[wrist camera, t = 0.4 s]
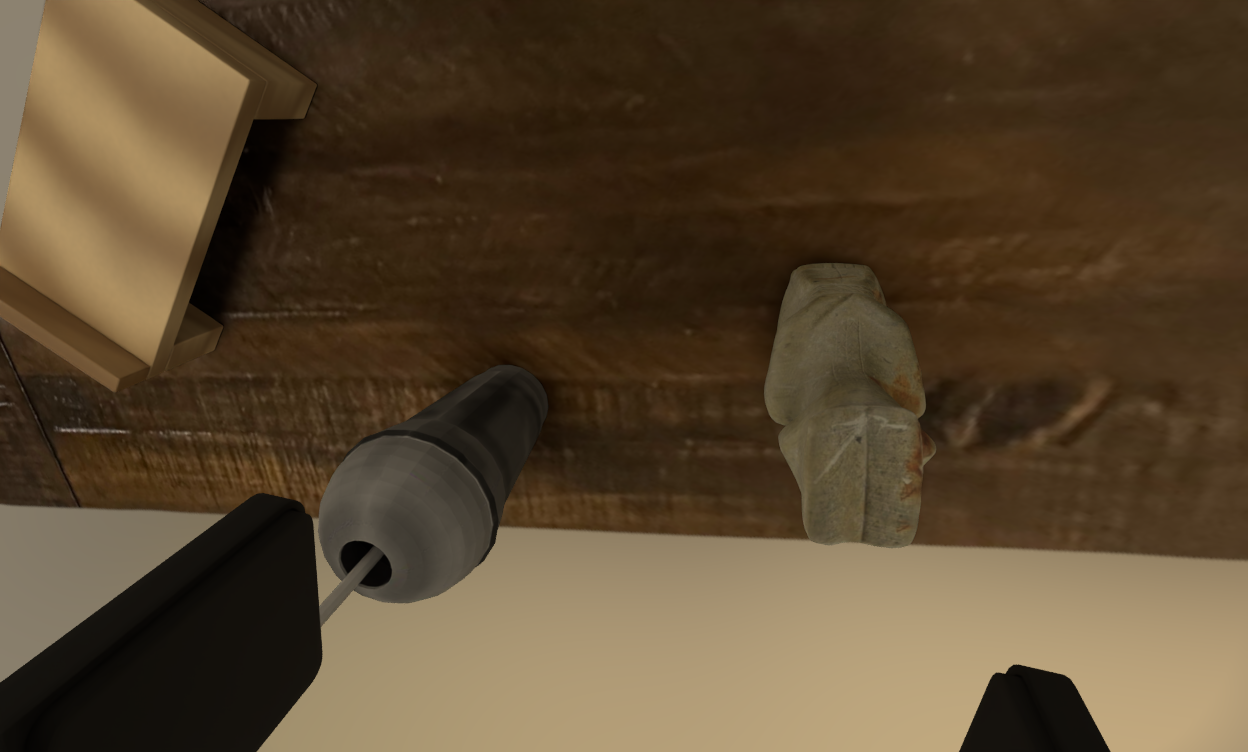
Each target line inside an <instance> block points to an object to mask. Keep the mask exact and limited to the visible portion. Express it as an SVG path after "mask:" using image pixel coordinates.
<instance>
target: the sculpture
mask: <svg viewBox="0 0 1248 752" xmlns="http://www.w3.org/2000/svg"><path fill="white" fill-rule="evenodd" d="M764 397H765V404H766V406H767V409H768V412H769V415H770V416H771V418H772V419H773V420H774V421H775V422H777V423H779V424H782V425H786V427H784V428H783V430H782V431H781V432H780V434H779V436H778V438H779V445H780V449H781V451H782V453H783V455H784V457H785V459H786V461H787V462H788V464H789V466H790V468H791V470H792V472H793V474H794V476H795V478H796V480H797V483H798V485H799V488H800V490H801V493H802V516H803V523H804V527H805V530H806V533H807V535H808V537H809V539H810V540H811V541H813V542H816V543H820V544H824V545H834V544H839V543H843V542H860V543H864V544H868V545H873V546H879V547H887V548H900V547H904V546H908V545H909V544H910V543H911V542H912V540H913V538H914V536H915V533H916V530H917V526H918V520H919V511H920V506H921V486H922V478H923V465H924V464H925V463H926V462H927V461H928V460H929V459H930V458H931V457H932V456H933V455H934V454H935V452H936V445H935V443H934V441H933V440H932V439H931V438H930V437H929V436H928V435H927V434H926V433H925V432H924V431H923V430H922V429H921V428H920V424H919V421H918V418H919V417H920V416H921V415H922V414H923V413H924V411H925V408H926V403H925V394H924V388H923V382H922V371H921V368H920V365H919V362H918V360H917V357H916V353H915V349H914V345H913V342H912V338H911V334H910V331H909V328H908V325H907V324H906V322H905V321H904V320H903V319H902V318H901V317H900V316H899V315H898V314H896V313H895V312H894V311H893V310H891V309H890V308H888V307H887V305H886V302H885V299H884V295H883V292H882V289H881V287H880V285H879V282H878V280H877V278H876V276H875V275H874V273H873V271H872V270H871V269H870V268H869V267H868V266H865V265H857V264H844V263H819V264H808V265H803V266H800V267H798V268H797V269H796V270H794V271H793V272H792V274H791V277H790V282H789V285H788V287H787V290H786V292H785V295H784V298H783V301H782V305H781V310H780V315H779V320H778V327H777V333H776V336H775V340H774V344H773V348H772V354H771V359H770V364H769V369H768V373H767V377H766V381H765V386H764Z"/></svg>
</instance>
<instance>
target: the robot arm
mask: <svg viewBox="0 0 1248 752" xmlns="http://www.w3.org/2000/svg"><path fill="white" fill-rule="evenodd" d="M321 662H322V640H321V626H320V612H319V599H318V584H317V570H316V556H315V542H314V530H313V520H312V518H311V516H310V515H308V514H306V513H305V509H304V506H303V505H302V504H301V503H300V502H298V501H296V500H291V499H287V498H282V497H278V496H274V495H269V494H265V493H260V494H256V495H254V496H252V497H250V498H249V499H248V500H246V501H245V502H244V503H242V504H241V505H240V506H238V507H237V508H236V509H234V510H233V511H232V512H230V513H229V514H227V515H226V516H225V517H223V518H222V519H221V520H219V521H218V522H217V523H215V524H214V525H213V526H211V527H210V528H209V529H207V530H206V531H205V532H203V533H202V534H201V535H199V536H198V537H196V538H195V539H194V540H192V541H191V542H190V543H188V544H187V545H186V546H184V547H183V548H182V549H180V550H179V551H178V552H176V553H175V554H173V555H172V556H171V557H169V558H168V559H167V560H165V561H164V562H163V563H161V564H160V565H159V566H157V567H156V568H155V569H153V570H152V571H150V572H149V573H148V574H146V575H145V576H144V577H142V578H141V579H140V580H138V581H137V582H136V583H134V584H133V585H132V586H130V587H129V588H128V589H126V590H125V591H124V592H122V593H121V594H119V595H118V596H117V597H115V598H114V599H113V600H111V601H110V602H109V603H107V604H106V605H105V606H103V607H102V608H101V609H99V610H98V611H96V612H95V613H94V614H92V615H91V616H90V617H88V618H87V619H86V620H84V621H83V622H82V623H80V624H79V625H78V626H76V627H75V628H73V629H72V630H71V631H69V632H68V633H67V634H65V635H64V636H63V637H61V638H60V639H59V640H57V641H56V642H55V643H53V644H52V645H51V646H49V647H48V648H46V649H45V650H44V651H43V652H41V653H40V654H38V655H37V656H36V657H34V658H33V659H32V660H30V661H29V662H28V663H26V664H25V665H23V666H22V667H21V668H19V669H18V670H17V671H15V672H14V673H13V674H11V675H10V676H9V677H8V678H6V679H5V680H3V681H2V682H0V752H257V750H258V749H259V748H260V747H261V745H262V744H263V743H264V742H265V740H266V739H267V738H268V737H269V736H270V734H271V733H272V732H273V731H274V729H275V728H276V727H277V726H278V724H279V723H280V722H281V721H282V719H283V718H284V717H285V715H286V714H287V713H288V712H289V711H290V709H291V708H292V707H293V706H294V704H295V703H296V702H297V701H298V699H299V698H300V697H301V696H302V694H303V693H304V692H305V691H306V689H307V688H308V687H309V686H310V685H311V683H312V682H313V680H314V679H315V677H316V675H317V673H318V671H319V669H320V666H321ZM959 752H1110V750H1109V748H1108V746H1107V745H1106V743H1105V741H1104V739H1103V737H1102V735H1101V733H1100V731H1099V730H1098V728H1097V726H1096V724H1095V722H1094V720H1093V718H1092V716H1091V715H1090V713H1089V711H1088V709H1087V707H1086V705H1085V703H1084V701H1083V700H1082V698H1081V696H1080V694H1079V692H1078V690H1077V689H1076V687H1075V685H1074V684H1073V682H1072V681H1071V679H1069V678H1068V677H1066V676H1065V675H1062V674H1057V673H1053V672H1049V671H1044V670H1040V669H1035V668H1031V667H1026V666H1022V665H1013V666H1011V667H1010V668H1009V669H1008V671H1007V672H1006V674H1002V673H995V674H994V675H993V676H992V678H991V679H990V681H989V684H988V686H987V688H986V691H985V693H984V695H983V698H982V700H981V702H980V705H979V707H978V709H977V711H976V714H975V716H974V718H973V721H972V723H971V726H970V728H969V730H968V732H967V735H966V737H965V739H964V742H963V744H962V746H961V749H960V751H959Z"/></svg>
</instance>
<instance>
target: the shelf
mask: <svg viewBox="0 0 1248 752" xmlns="http://www.w3.org/2000/svg"><path fill="white" fill-rule="evenodd" d="M316 87H317V84H316V83H314V82H313V81H311V80H310V79H308V78H307V77H306V76H304V75H303V74H301V73H300V72H299V71H297V70H296V69H294V68H293V67H291V66H290V65H289V64H287V63H286V62H284V61H283V60H281V59H280V58H279V57H277V56H276V55H274V54H273V53H271V52H270V51H269V50H267V49H266V48H264V47H263V46H261V45H260V44H259V43H257V42H256V41H254V40H253V39H251V38H250V37H249V36H247V35H246V34H244V33H243V32H241V31H240V30H239V29H237V28H236V27H234V26H233V25H231V24H230V23H229V22H227V21H226V20H224V19H223V18H221V17H220V16H219V15H217V14H216V13H214V12H213V11H212V10H210V9H209V8H207V7H206V6H204V5H203V4H202V3H200V2H199V1H197V0H46V2H45V7H44V12H43V17H42V22H41V27H40V32H39V37H38V42H37V47H36V52H35V57H34V62H33V68H32V72H31V77H30V82H29V87H28V92H27V97H26V102H25V107H24V112H23V118H22V123H21V128H20V133H19V137H18V143H17V148H16V153H15V158H14V163H13V168H12V173H11V178H10V183H9V188H8V193H7V198H6V203H5V208H4V213H3V218H2V223H1V228H0V317H2V318H3V319H5V320H6V321H8V322H9V323H11V324H12V325H14V326H15V327H17V328H18V329H20V330H21V331H23V332H24V333H26V334H27V335H29V336H30V337H32V338H33V339H35V340H36V341H38V342H39V343H41V344H42V345H44V346H45V347H47V348H48V349H50V350H51V351H53V352H54V353H56V354H57V355H59V356H60V357H62V358H63V359H65V360H66V361H68V362H69V363H71V364H72V365H74V366H75V367H77V368H78V369H80V370H81V371H83V372H84V373H86V374H87V375H89V376H90V377H92V378H93V379H95V380H96V381H98V382H99V383H101V384H102V385H104V386H105V387H107V388H108V389H110V390H111V391H113V392H118V391H121V390H123V389H125V388H128V387H130V386H132V385H135V384H137V383H139V382H142V381H144V380H146V379H149V378H151V377H153V376H156V375H158V374H160V373H163V372H164V371H167V370H170V369H172V368H174V367H177V366H179V365H181V364H184V363H186V362H188V361H191V360H193V359H195V358H198V357H200V356H202V355H205V354H207V353H209V352H212V351H214V350H215V347H216V345H217V342H218V340H219V337H220V334H221V332H222V329H223V325H221V324H220V323H218V322H217V321H215V320H214V319H212V318H211V317H210V316H208V315H207V314H205V313H204V312H202V311H201V310H199V309H198V308H196V307H195V306H193V305H192V304H190V303H189V300H190V297H191V295H192V292H193V289H194V286H195V283H196V280H197V278H198V275H199V272H200V269H201V266H202V263H203V261H204V258H205V255H206V252H207V249H208V247H209V244H210V241H211V238H212V235H213V232H214V230H215V227H216V224H217V221H218V218H219V215H220V213H221V210H222V207H223V204H224V201H225V198H226V196H227V193H228V190H229V187H230V184H231V182H232V179H233V176H234V173H235V170H236V167H237V165H238V162H239V159H240V156H241V153H242V150H243V148H244V145H245V142H246V139H247V136H248V134H249V131H250V128H251V125H252V122H253V119H304V118H305V115H306V113H307V110H308V107H309V105H310V102H311V100H312V97H313V94H314V92H315V89H316Z"/></svg>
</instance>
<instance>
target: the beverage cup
mask: <svg viewBox="0 0 1248 752" xmlns="http://www.w3.org/2000/svg"><path fill="white" fill-rule="evenodd" d="M547 411H548V400H547V395H546V393H545V390H544V388H543V386H542V384H541V383H540V382H539V381H538V380H537V379H536V378H535V376H534V375H532V374H531V373H529V372H528V371H526V370H524V369H523V368H520V367H516V366H513V365H498V366H495V367H493V368H490V369H488V370H487V371H486V372H484V373H482V374H479V375H477V376H475V377H473V378H472V379H470V380H469V381H467V382H465V383H464V384H462V385H461V386H459V387H458V388H456V389H455V390H453V391H452V392H450V393H449V394H447V395H445V396H444V397H442V398H441V399H439V400H438V401H436V402H435V403H433V404H432V405H430V406H428V407H427V408H425V409H424V410H422V411H421V412H419V413H418V414H416V415H415V416H413V417H412V418H410V419H408V420H407V421H405V422H403V423H400V424H398V425H395V426H392V427H390V428H388V429H385V430H383V431H381V432H379V433H376V434H373V435H370V436H368V437H365V438H363V439H362V440H361V441H360V442H359V443H358V444H357V445H356V446H354V447H353V448H352V449H351V450H350V451H349V452H348V453H347V455H346V457H345V458H344V460H343V462H342V463H341V464H340V465H339V466H338V468H337V469H336V471H335V472H334V474H333V475H332V478H331V480H330V482H329V484H328V486H327V488H326V491H325V493H324V495H323V498H322V500H321V503H320V510H319V528H318V533H319V539H320V543H321V546H322V550H323V553H324V556H325V558H326V560H327V562H328V563H329V565H330V566H331V568H332V570H333V571H334V573H335V574H336V576H337V577H338V578H339V579H340V580H342V582H341V583H340V584H339V585H338V586H337V587H336V588H335V589H334V591H333V592H332V593H331V594H330V595H329V596H328V597H327V598H326V599H325V601H324V602H323V603H322V604H321V605H320V606H319V612H320V626H322V625H323V624H324V623H325V622H326V621H327V620H328V618H329V617H330V616H331V615H332V614H333V612H335V610H336V609H337V608H338V607H339V606H340V605H341V604H342V602H343V601H344V600H345V599H346V598H347V597H348V595H349V594H350V593H351V592H352V591H353V590H354V591H356V592H357V593H359V594H361V595H363V596H366V597H369V598H372V599H375V600H378V601H381V602H388V603H412V602H416V601H419V600H423V599H427V598H431V597H434V596H438V595H439V594H441V593H443V592H445V591H446V590H448V589H449V588H451V587H452V586H454V585H455V584H457V583H458V582H459V581H461V580H462V579H463V578H465V577H466V576H467V575H468V574H469V573H471V571H472V570H473V569H474V568H475V567H477V566H478V565H479V564H481V563H482V562H483V561H484V560H485V558H486V556H487V555H488V553H489V552H490V550H491V549H492V547H493V546H494V544H495V540H496V535H497V530H498V527H499V524H500V520H501V517H502V514H503V508H504V504H505V502H506V500H507V498H508V496H509V494H510V492H511V490H512V488H513V486H514V484H515V482H516V480H517V478H518V476H519V474H520V472H521V470H522V468H523V466H524V464H525V462H526V460H527V458H528V456H529V454H530V452H531V450H532V448H533V446H534V444H535V442H536V440H537V438H538V436H539V434H540V432H541V429H542V425H543V422H544V420H545V419H546V416H547Z"/></svg>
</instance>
